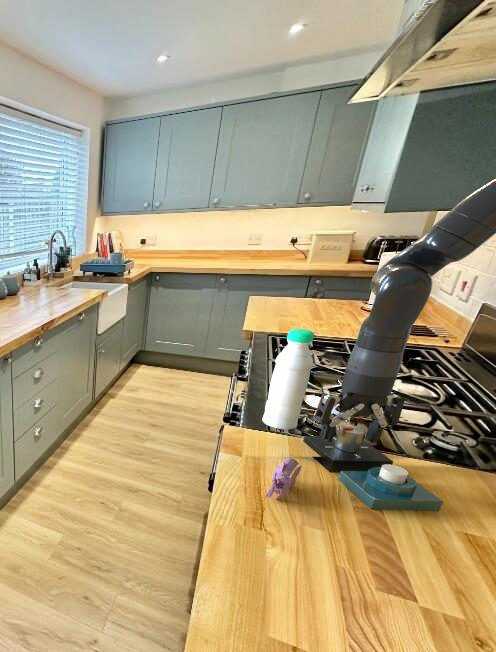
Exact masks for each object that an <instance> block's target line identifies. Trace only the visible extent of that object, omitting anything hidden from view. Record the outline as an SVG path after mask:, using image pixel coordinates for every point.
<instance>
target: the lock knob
mask: <svg viewBox="0 0 496 652" xmlns="http://www.w3.org/2000/svg"><path fill="white" fill-rule="evenodd" d="M365 435H366V431H365V429H363V428H362V427H359V426H357V425H352V424H341V425H340V426H339V429H338V432H337V435H336V436H337V438H336V442H335V447H336V448H338V449H340V450H342V451H346V452H352V453H354V452H358V451H359V449H360V446H361V443H362V440H364V437H365Z"/></svg>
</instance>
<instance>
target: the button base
mask: <svg viewBox="0 0 496 652" xmlns="http://www.w3.org/2000/svg"><path fill="white" fill-rule="evenodd" d="M380 470H381V467H374V468H371V469H369V470H368V471H341V472H340V473H339V476H338V478H337V481H339V482H340V483H341V484H342V485H343V486H344V487H345V488H347V490H349V492H351V493H352V494H353V495H354V496H355V497H356V498H358V499H359V501H361V502H362V503H363V504H364V505H365V506H367V508H369V510H381V511H382V510H384V511H418V512H440V510H441V508H442V506H443V504H444V500H442V499H441V498H439V497H438V496H437V495H435V494H434V493H433V492H431V491H430V490H428V489H427V488H426V487H424V486H423V485H421V484H420V483H419V482H417V480H416V479H414V478H413V477H412V476H411V475H409V474H408V476H407V479H406V481H405V483H404V484H396V483H392V482H388V481H386V480H384V479H382V478H380V477H379V473H380Z"/></svg>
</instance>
